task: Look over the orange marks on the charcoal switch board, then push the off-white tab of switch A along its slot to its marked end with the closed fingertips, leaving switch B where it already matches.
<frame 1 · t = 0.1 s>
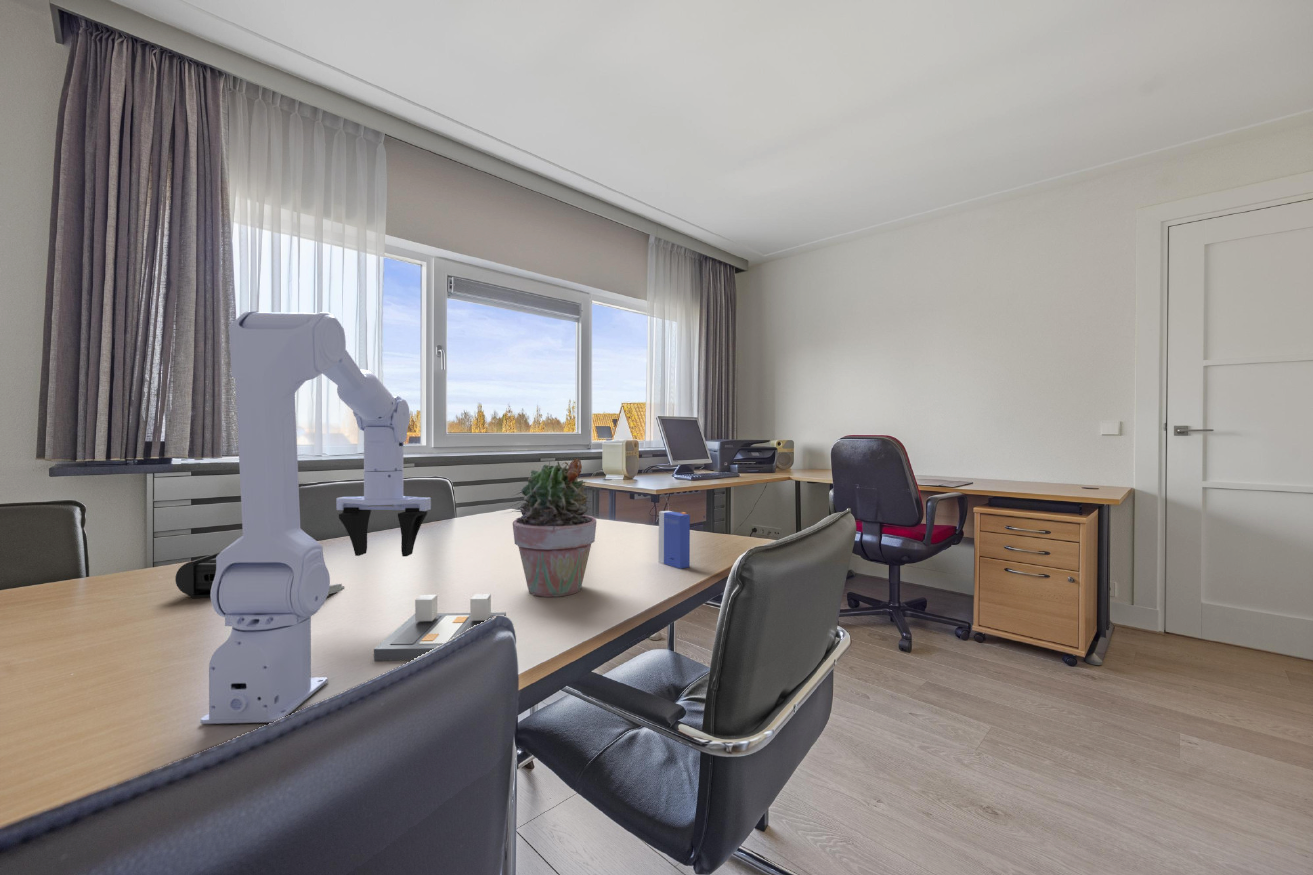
hand: (384, 554, 89), 10 cm above the table, fingers open, 7 cm apart
dip bank: (446, 639, 79), on the table
potted plant: (550, 589, 105), on the table
switch a: (426, 607, 83), point 4 cm above the table, slide at 0.0 cm
switch b: (480, 607, 83), point 4 cm above the table, slide at 0.0 cm
caliper: (315, 607, 95), on the table
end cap: (215, 592, 103), on the table
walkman: (673, 565, 124), on the table
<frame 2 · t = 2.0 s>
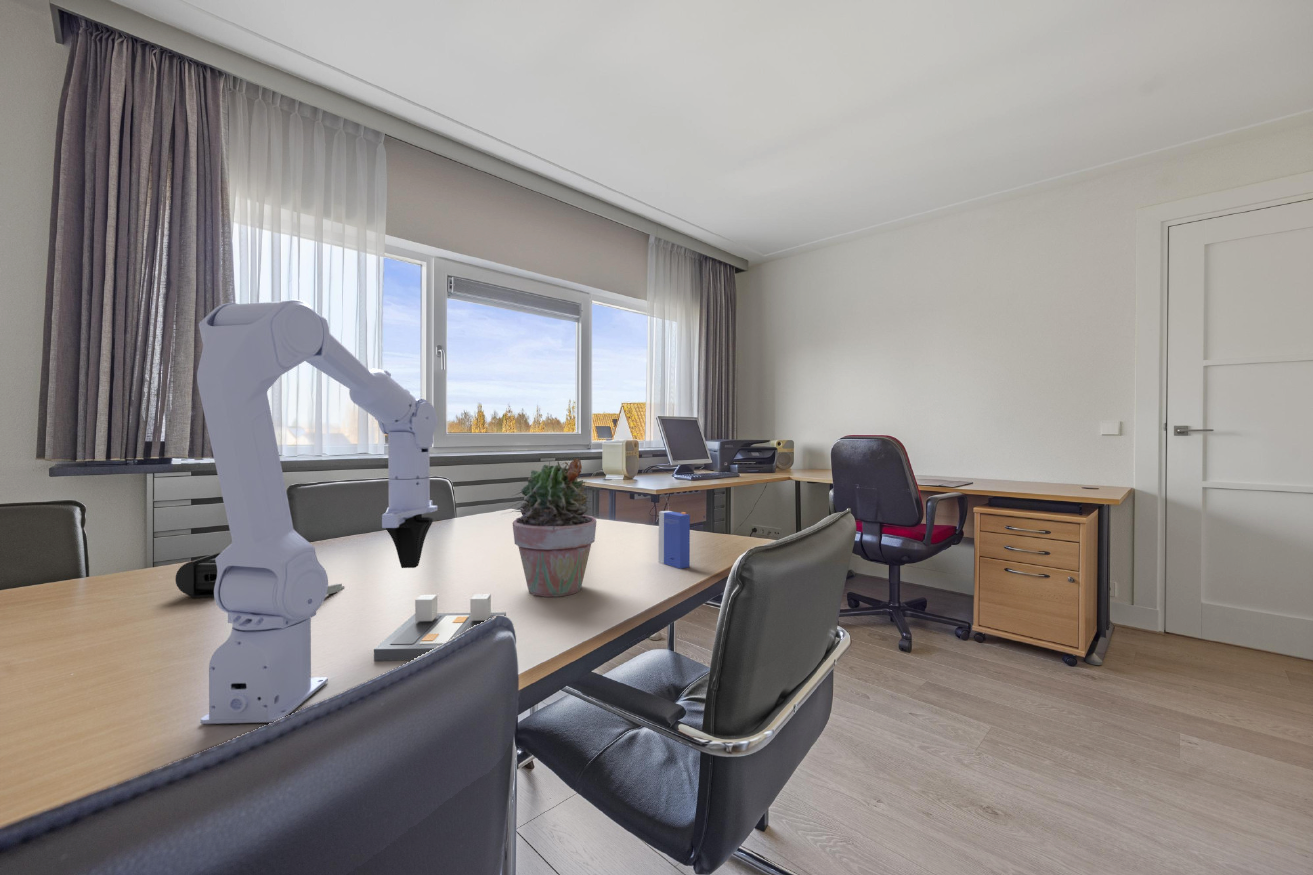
hand: (409, 566, 84), 9 cm above the table, fingers closed
nothing on the table moved.
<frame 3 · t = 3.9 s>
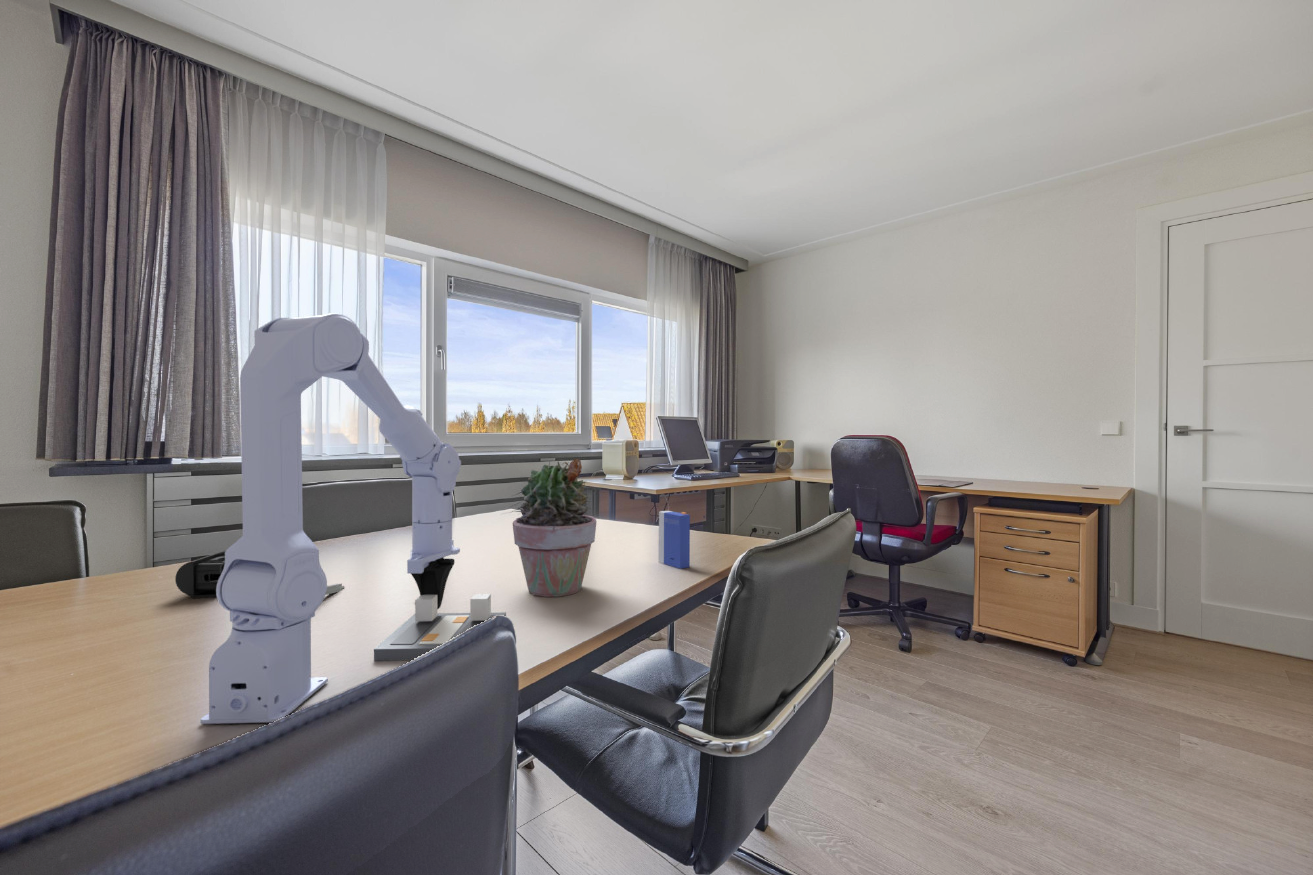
hand: (432, 608, 85), 3 cm above the table, fingers closed
switch a: (426, 607, 83), point 4 cm above the table, slide at 0.0 cm, touching gripper
everything else where it was.
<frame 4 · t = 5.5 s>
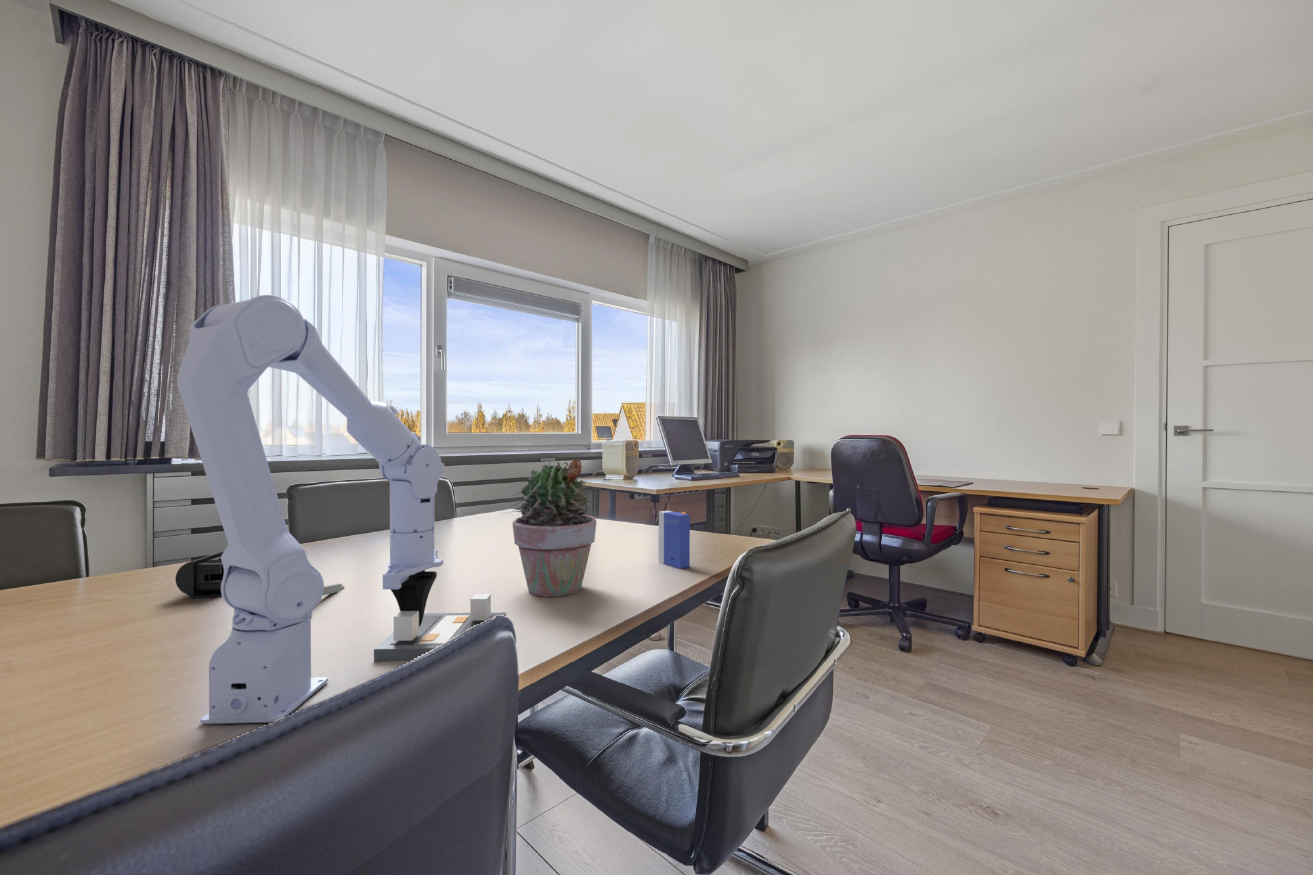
hand: (412, 626, 77), 3 cm above the table, fingers closed
switch a: (406, 625, 75), point 4 cm above the table, slide at 7.5 cm, touching gripper
everything else where it was.
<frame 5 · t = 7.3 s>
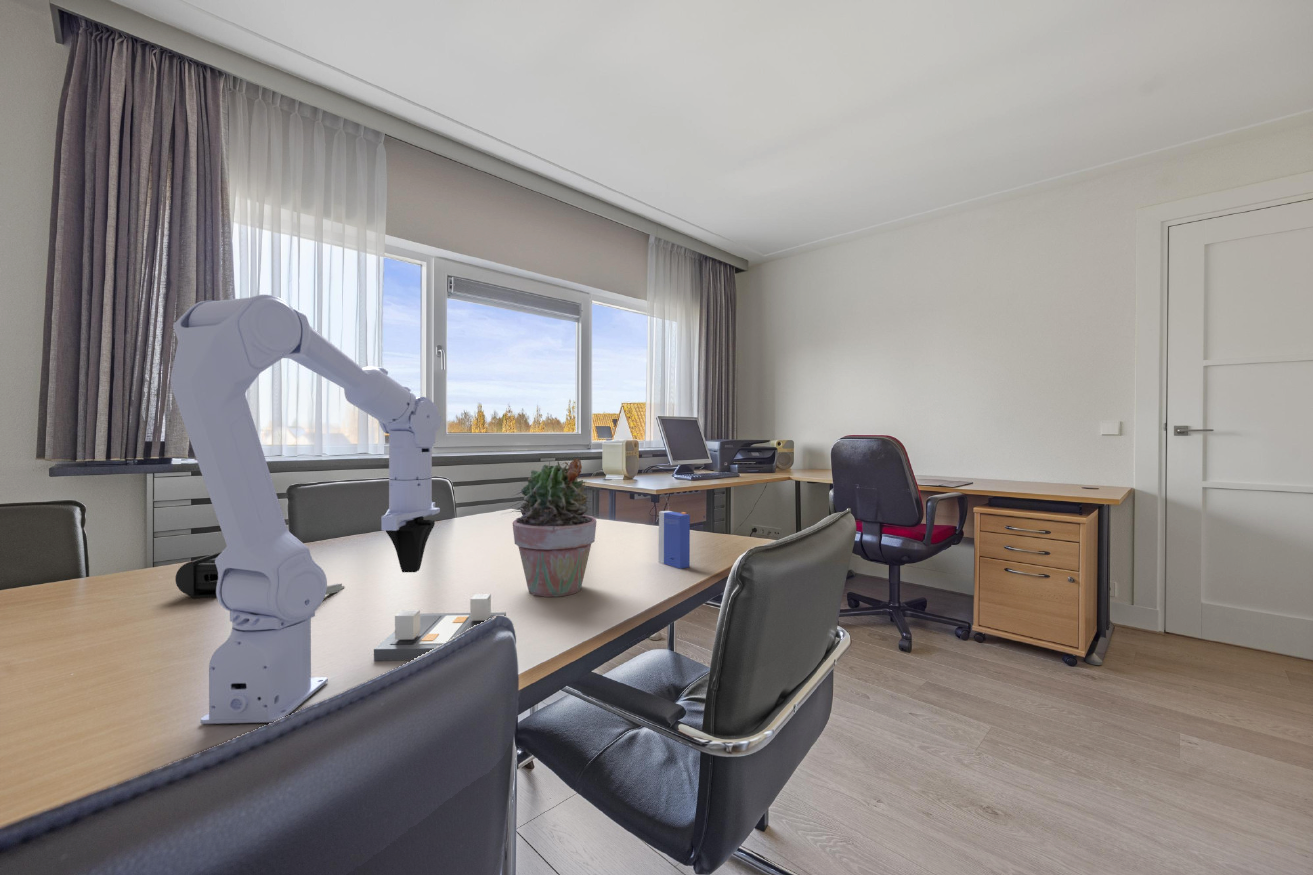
hand: (410, 571, 81), 9 cm above the table, fingers closed
switch a: (407, 624, 76), point 4 cm above the table, slide at 7.1 cm
everything else where it was.
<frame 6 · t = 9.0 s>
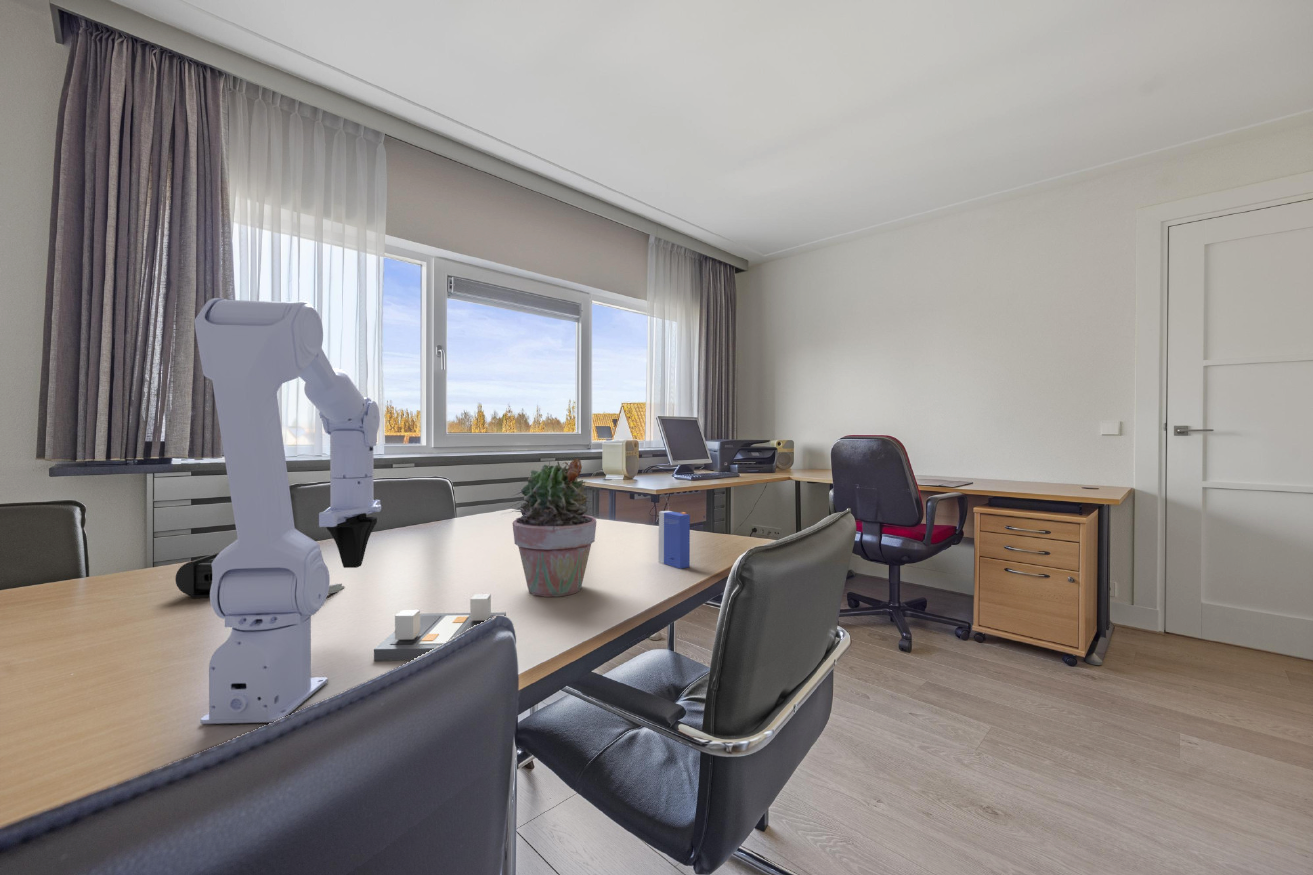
hand: (352, 566, 83), 9 cm above the table, fingers closed
nothing on the table moved.
at the end: switch a slide at 7.1 cm; switch b slide at 0.0 cm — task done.
